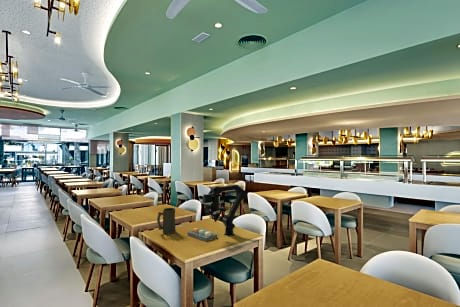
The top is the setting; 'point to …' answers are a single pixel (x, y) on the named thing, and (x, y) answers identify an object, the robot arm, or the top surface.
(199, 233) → the button teal
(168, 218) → the beer stein
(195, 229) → the button orange
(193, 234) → the console
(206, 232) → the button cream
